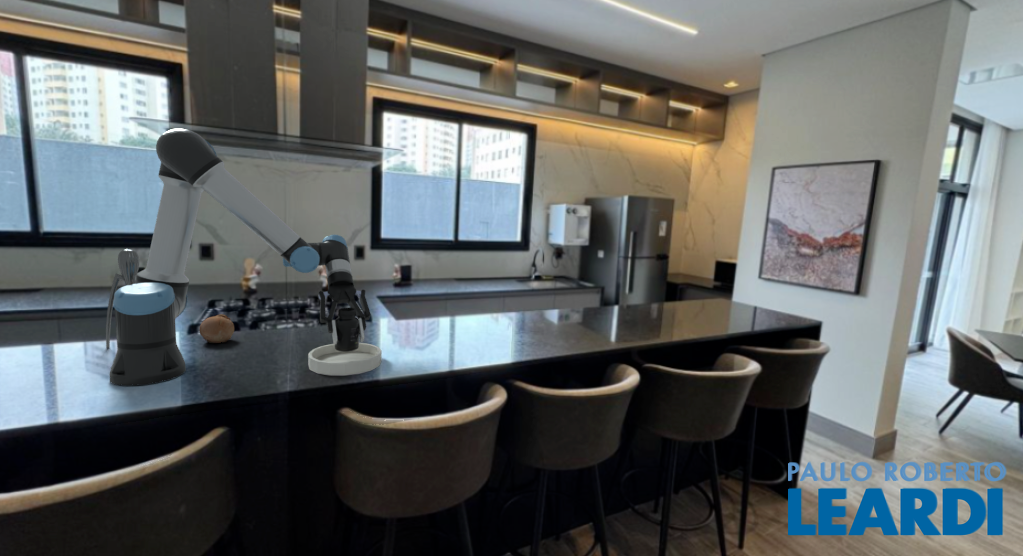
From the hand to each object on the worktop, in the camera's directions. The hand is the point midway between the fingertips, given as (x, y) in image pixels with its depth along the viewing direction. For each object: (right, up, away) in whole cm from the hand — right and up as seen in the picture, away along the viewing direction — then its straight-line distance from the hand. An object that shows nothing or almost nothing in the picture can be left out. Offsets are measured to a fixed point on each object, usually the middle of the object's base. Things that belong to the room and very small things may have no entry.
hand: (349, 340), depth 126 cm
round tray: (-2, -7, +4) cm, 9 cm away
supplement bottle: (-2, -3, +4) cm, 5 cm away
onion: (-50, -3, +17) cm, 53 cm away
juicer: (-69, -3, +8) cm, 70 cm away
